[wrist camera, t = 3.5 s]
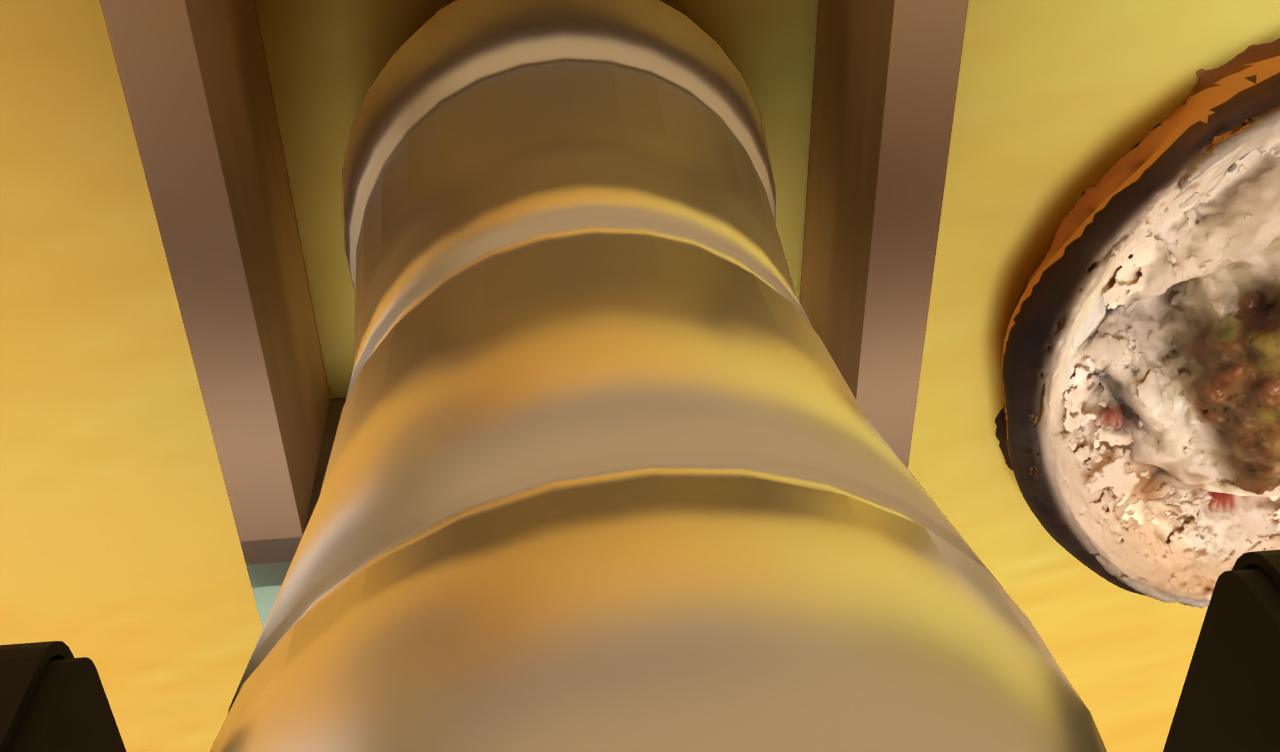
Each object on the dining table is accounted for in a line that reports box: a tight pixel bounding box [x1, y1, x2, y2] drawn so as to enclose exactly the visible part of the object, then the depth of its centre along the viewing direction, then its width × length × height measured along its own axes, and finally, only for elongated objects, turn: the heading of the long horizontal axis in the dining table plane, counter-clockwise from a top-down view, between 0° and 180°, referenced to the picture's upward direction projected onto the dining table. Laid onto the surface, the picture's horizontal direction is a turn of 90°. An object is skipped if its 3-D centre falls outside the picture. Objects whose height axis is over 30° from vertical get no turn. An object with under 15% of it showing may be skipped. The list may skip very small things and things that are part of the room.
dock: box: [100, 0, 968, 628], centre depth 22 cm, size 23×11×4 cm, turn 1°
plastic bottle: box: [210, 0, 1107, 752], centre depth 12 cm, size 6×7×20 cm
